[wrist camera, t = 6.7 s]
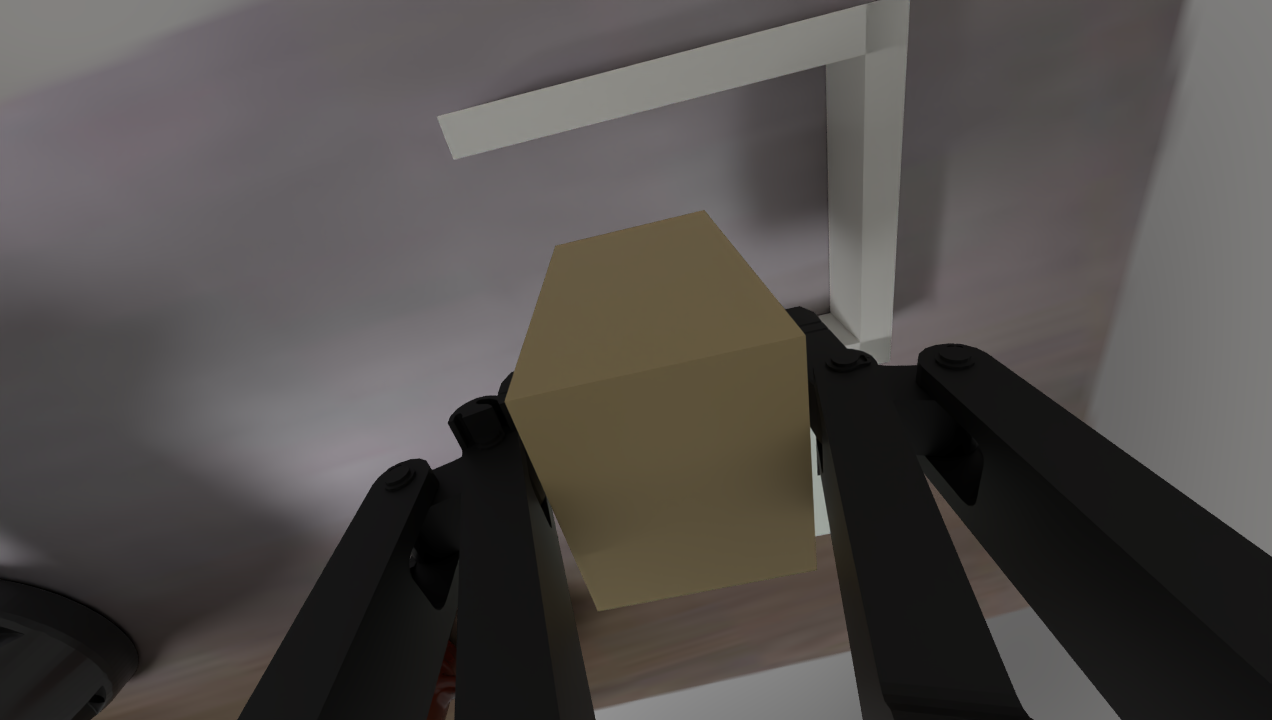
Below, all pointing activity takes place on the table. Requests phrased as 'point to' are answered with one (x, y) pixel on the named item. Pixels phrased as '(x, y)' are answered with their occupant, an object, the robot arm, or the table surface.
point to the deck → (856, 141)
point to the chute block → (667, 414)
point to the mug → (444, 685)
